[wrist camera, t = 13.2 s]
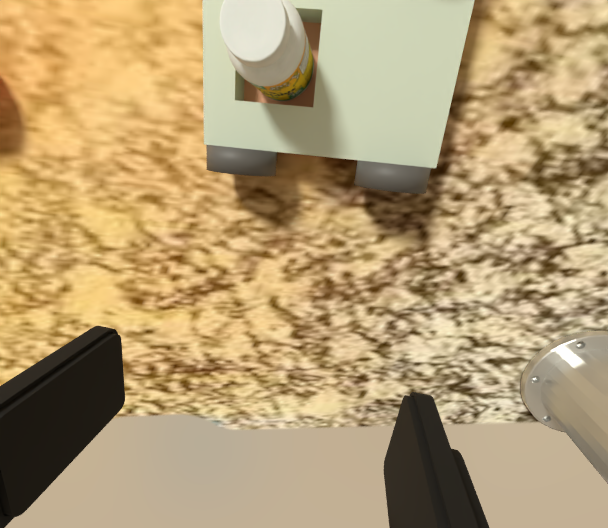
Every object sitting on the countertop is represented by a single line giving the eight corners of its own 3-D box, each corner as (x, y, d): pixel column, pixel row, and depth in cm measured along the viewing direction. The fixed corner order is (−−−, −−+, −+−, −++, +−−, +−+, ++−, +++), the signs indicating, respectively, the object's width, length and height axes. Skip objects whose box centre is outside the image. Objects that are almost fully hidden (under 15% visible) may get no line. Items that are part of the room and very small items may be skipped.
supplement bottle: (319, 35, 26) (305, -31, 17) (309, 106, 28) (292, 81, 18) (256, 27, 26) (209, -42, 17) (250, 98, 28) (206, 69, 19)
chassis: (475, -56, 23) (518, -124, 18) (421, 189, 29) (441, 196, 23) (217, -68, 25) (180, -134, 19) (217, 167, 31) (188, 169, 25)
